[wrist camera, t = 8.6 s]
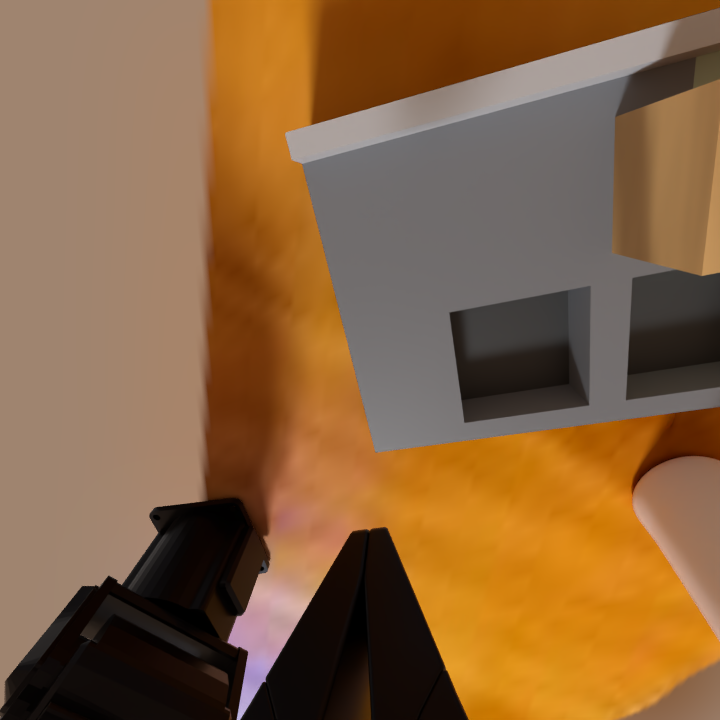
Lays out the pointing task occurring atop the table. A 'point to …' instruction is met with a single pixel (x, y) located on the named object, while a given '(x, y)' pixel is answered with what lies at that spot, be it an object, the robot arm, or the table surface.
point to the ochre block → (670, 182)
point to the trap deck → (511, 249)
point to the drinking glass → (686, 525)
